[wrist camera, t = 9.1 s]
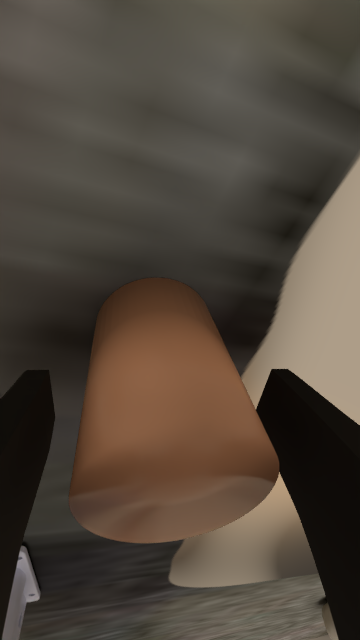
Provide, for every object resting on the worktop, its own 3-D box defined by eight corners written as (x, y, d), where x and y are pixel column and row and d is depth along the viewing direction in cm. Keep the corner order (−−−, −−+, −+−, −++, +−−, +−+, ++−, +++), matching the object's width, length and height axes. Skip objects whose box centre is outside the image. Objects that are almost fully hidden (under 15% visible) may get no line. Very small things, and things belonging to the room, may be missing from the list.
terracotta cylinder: (200, 372, 15) (249, 531, 9) (96, 373, 14) (75, 553, 8) (220, 280, 12) (309, 419, 6) (93, 274, 11) (59, 430, 5)
